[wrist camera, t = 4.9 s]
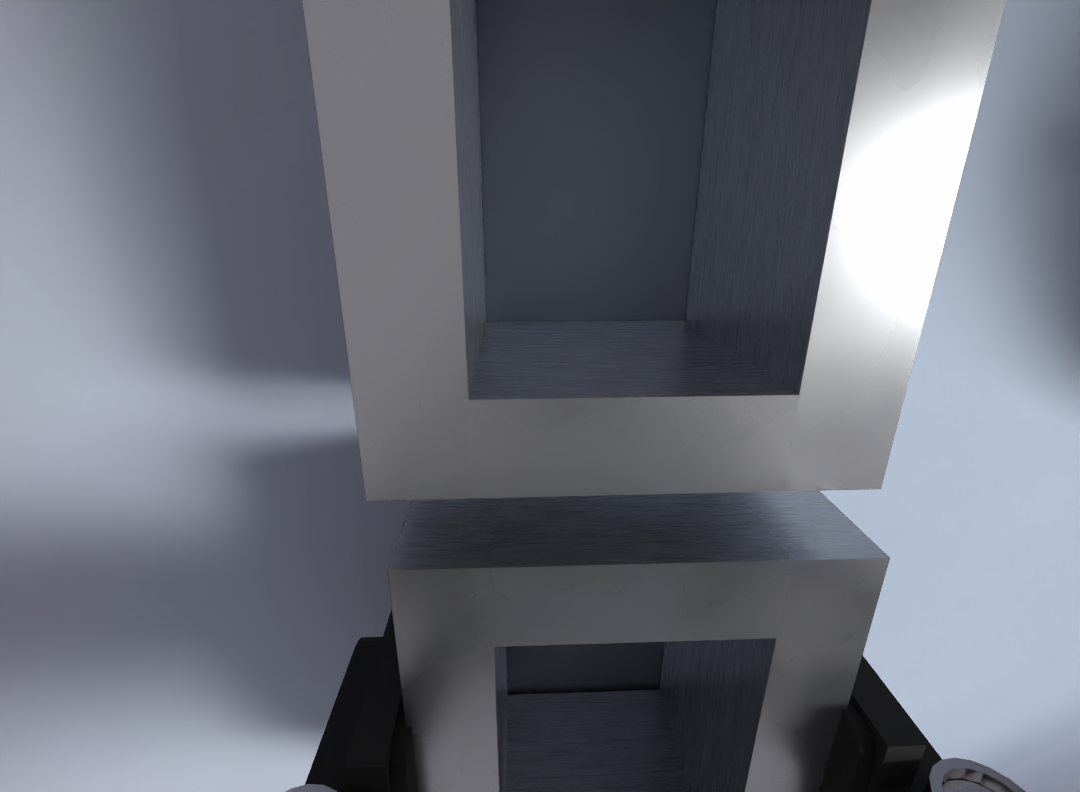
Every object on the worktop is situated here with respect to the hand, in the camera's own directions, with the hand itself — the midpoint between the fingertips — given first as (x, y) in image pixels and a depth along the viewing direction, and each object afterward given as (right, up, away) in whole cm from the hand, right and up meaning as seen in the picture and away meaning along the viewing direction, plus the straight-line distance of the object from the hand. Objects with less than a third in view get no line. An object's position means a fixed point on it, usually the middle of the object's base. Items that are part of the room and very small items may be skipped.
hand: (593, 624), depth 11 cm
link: (0, 0, +1) cm, 1 cm away
